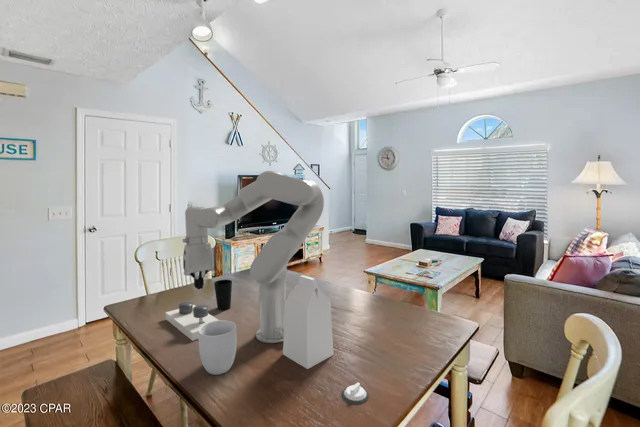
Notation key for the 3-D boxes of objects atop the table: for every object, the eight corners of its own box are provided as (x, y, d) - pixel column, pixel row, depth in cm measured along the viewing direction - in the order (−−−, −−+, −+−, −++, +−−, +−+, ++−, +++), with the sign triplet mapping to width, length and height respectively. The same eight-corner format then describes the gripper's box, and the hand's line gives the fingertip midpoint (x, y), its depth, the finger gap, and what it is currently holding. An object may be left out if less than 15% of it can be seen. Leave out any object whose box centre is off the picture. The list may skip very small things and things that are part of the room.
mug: (207, 353, 109) (206, 315, 107) (241, 351, 110) (240, 314, 109) (195, 380, 94) (193, 337, 93) (234, 378, 95) (233, 335, 94)
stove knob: (336, 398, 87) (336, 388, 86) (350, 384, 92) (350, 375, 92) (360, 410, 82) (360, 399, 82) (374, 395, 88) (374, 384, 88)
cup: (235, 305, 151) (234, 279, 150) (229, 311, 144) (228, 285, 142) (219, 304, 152) (218, 279, 151) (212, 311, 144) (211, 284, 143)
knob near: (210, 322, 126) (210, 307, 125) (197, 326, 122) (196, 311, 121) (204, 318, 129) (203, 303, 129) (191, 322, 126) (190, 307, 125)
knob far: (195, 318, 136) (194, 304, 135) (182, 322, 132) (181, 307, 132) (189, 314, 139) (189, 300, 139) (177, 318, 136) (176, 304, 135)
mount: (223, 330, 126) (223, 322, 125) (192, 341, 117) (192, 332, 117) (194, 311, 144) (194, 304, 144) (165, 319, 136) (165, 312, 136)
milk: (282, 354, 108) (281, 277, 106) (308, 342, 116) (308, 270, 114) (307, 369, 100) (306, 285, 97) (333, 354, 108) (333, 277, 105)
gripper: (181, 244, 115) (183, 295, 116) (220, 239, 125) (222, 286, 127) (172, 241, 120) (175, 290, 122) (211, 236, 130) (213, 281, 132)
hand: (199, 288), depth 124 cm, fingers closed
